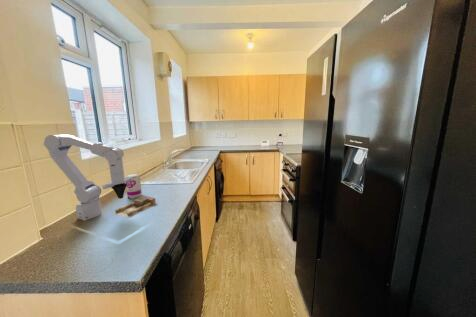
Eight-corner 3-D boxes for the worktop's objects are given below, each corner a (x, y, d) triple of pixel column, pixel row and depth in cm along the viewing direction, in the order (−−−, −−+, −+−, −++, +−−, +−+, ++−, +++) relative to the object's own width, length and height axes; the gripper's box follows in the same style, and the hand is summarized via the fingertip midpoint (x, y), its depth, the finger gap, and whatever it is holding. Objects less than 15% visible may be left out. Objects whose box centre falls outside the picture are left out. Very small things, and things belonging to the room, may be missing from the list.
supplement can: (137, 200, 120) (135, 177, 117) (124, 200, 120) (121, 177, 117) (144, 195, 128) (142, 173, 125) (132, 195, 128) (129, 173, 125)
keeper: (141, 207, 107) (141, 201, 106) (134, 205, 109) (133, 200, 108) (149, 204, 111) (148, 198, 111) (141, 202, 114) (141, 197, 113)
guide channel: (129, 219, 96) (128, 211, 95) (112, 214, 101) (111, 207, 100) (157, 205, 112) (156, 198, 111) (141, 201, 117) (140, 195, 117)
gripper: (107, 177, 88) (111, 204, 91) (135, 169, 101) (138, 194, 104) (98, 175, 91) (102, 202, 94) (126, 168, 104) (129, 192, 107)
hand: (120, 197), depth 99 cm, fingers closed
